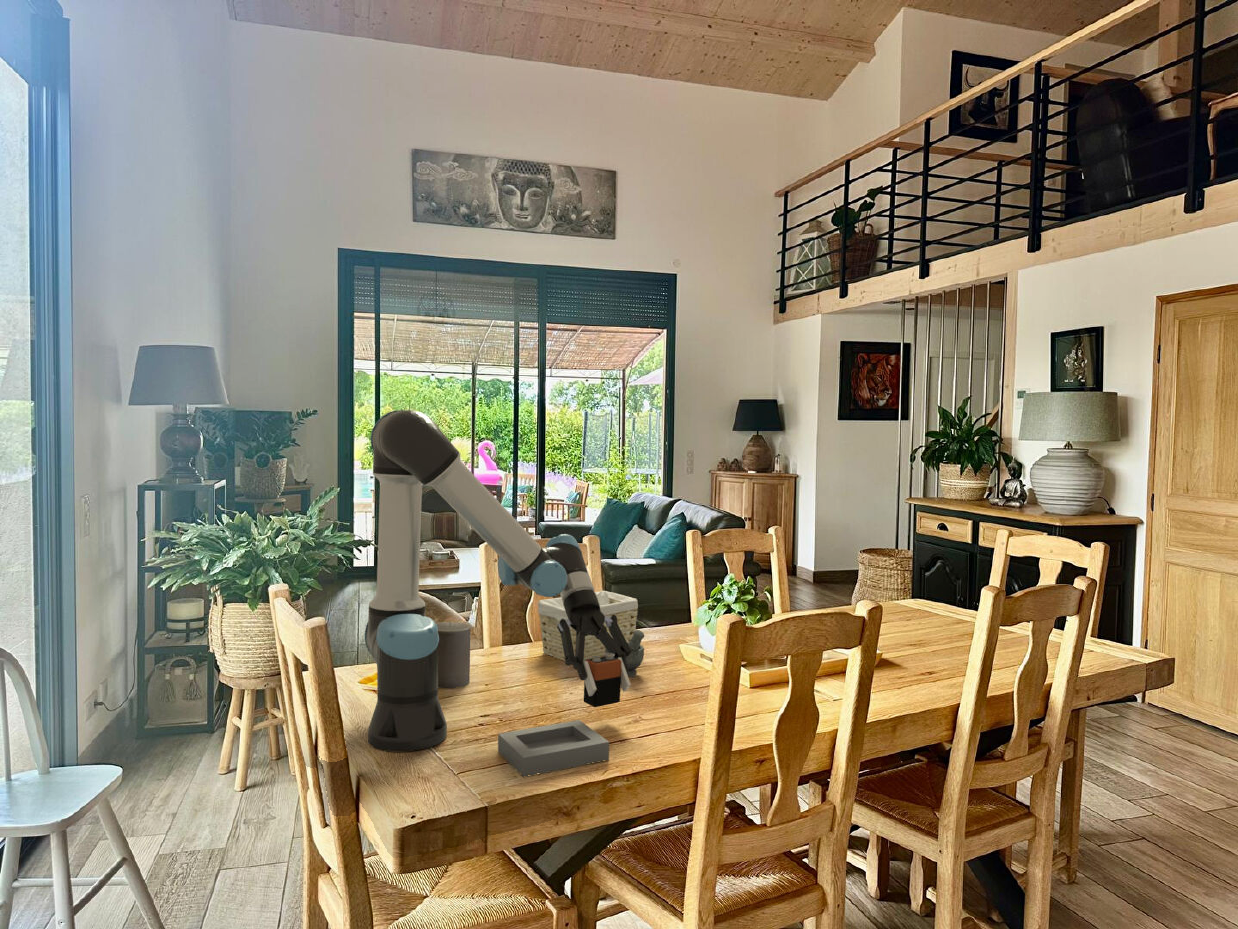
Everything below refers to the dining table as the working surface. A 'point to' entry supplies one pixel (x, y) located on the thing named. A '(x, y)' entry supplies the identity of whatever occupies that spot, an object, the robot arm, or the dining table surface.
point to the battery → (604, 680)
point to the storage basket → (552, 641)
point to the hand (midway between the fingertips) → (610, 690)
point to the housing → (552, 747)
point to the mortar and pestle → (634, 653)
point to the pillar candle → (453, 654)
